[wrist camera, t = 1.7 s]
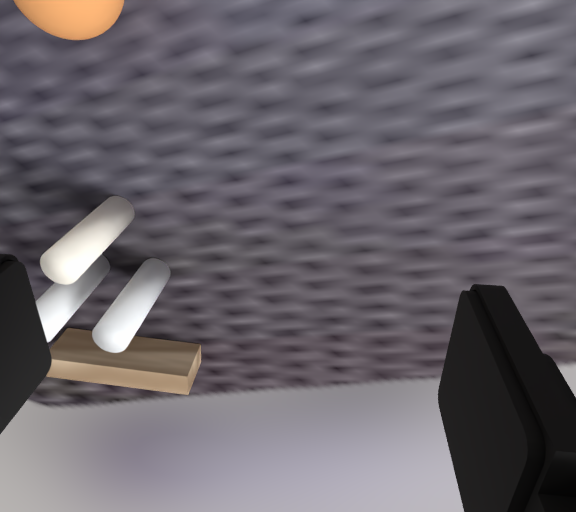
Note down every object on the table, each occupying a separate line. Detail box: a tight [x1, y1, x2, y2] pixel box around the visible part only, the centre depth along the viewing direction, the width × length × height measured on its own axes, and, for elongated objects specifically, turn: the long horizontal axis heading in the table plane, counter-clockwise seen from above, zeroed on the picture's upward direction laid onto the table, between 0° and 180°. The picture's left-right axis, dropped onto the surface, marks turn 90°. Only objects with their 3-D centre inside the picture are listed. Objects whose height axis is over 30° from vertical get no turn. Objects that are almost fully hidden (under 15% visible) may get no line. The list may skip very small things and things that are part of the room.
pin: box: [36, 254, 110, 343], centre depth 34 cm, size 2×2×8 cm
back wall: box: [47, 328, 201, 395], centre depth 40 cm, size 2×12×4 cm, turn 86°
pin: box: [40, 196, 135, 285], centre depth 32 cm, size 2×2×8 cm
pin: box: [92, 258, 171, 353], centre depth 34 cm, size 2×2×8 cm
